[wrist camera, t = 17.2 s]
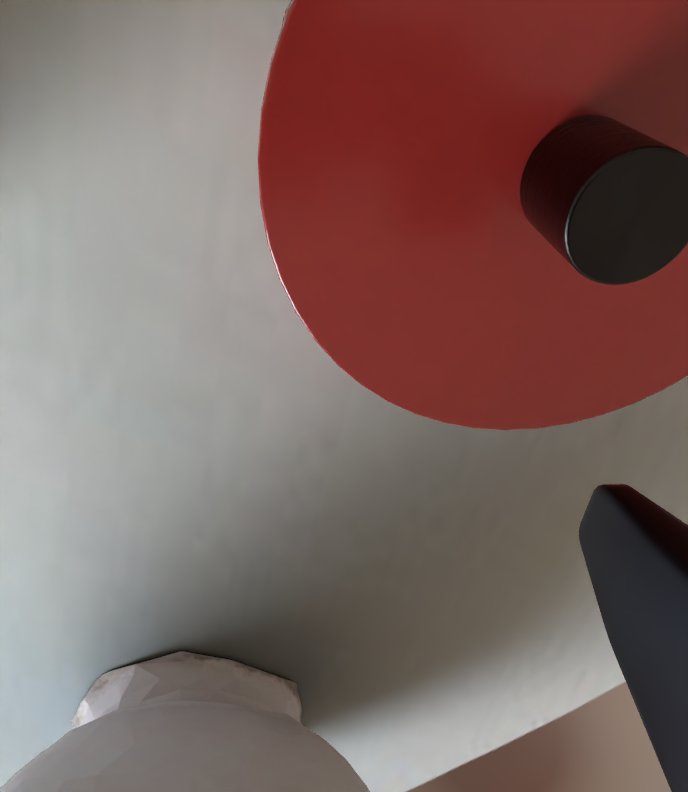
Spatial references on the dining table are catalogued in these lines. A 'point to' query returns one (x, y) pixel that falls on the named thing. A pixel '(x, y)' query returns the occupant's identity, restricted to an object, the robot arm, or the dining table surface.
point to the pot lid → (484, 200)
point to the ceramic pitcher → (188, 735)
